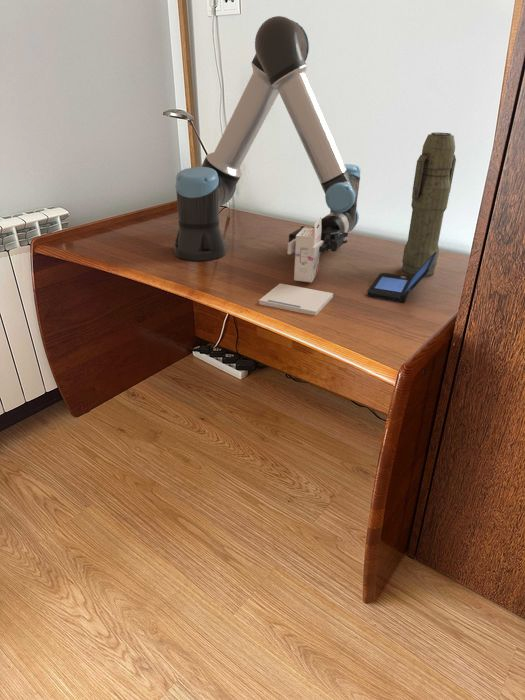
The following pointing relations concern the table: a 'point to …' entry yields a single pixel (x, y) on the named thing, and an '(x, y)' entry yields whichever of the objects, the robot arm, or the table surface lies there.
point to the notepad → (296, 299)
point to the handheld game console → (398, 283)
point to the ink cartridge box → (307, 253)
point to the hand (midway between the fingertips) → (301, 250)
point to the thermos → (429, 201)
